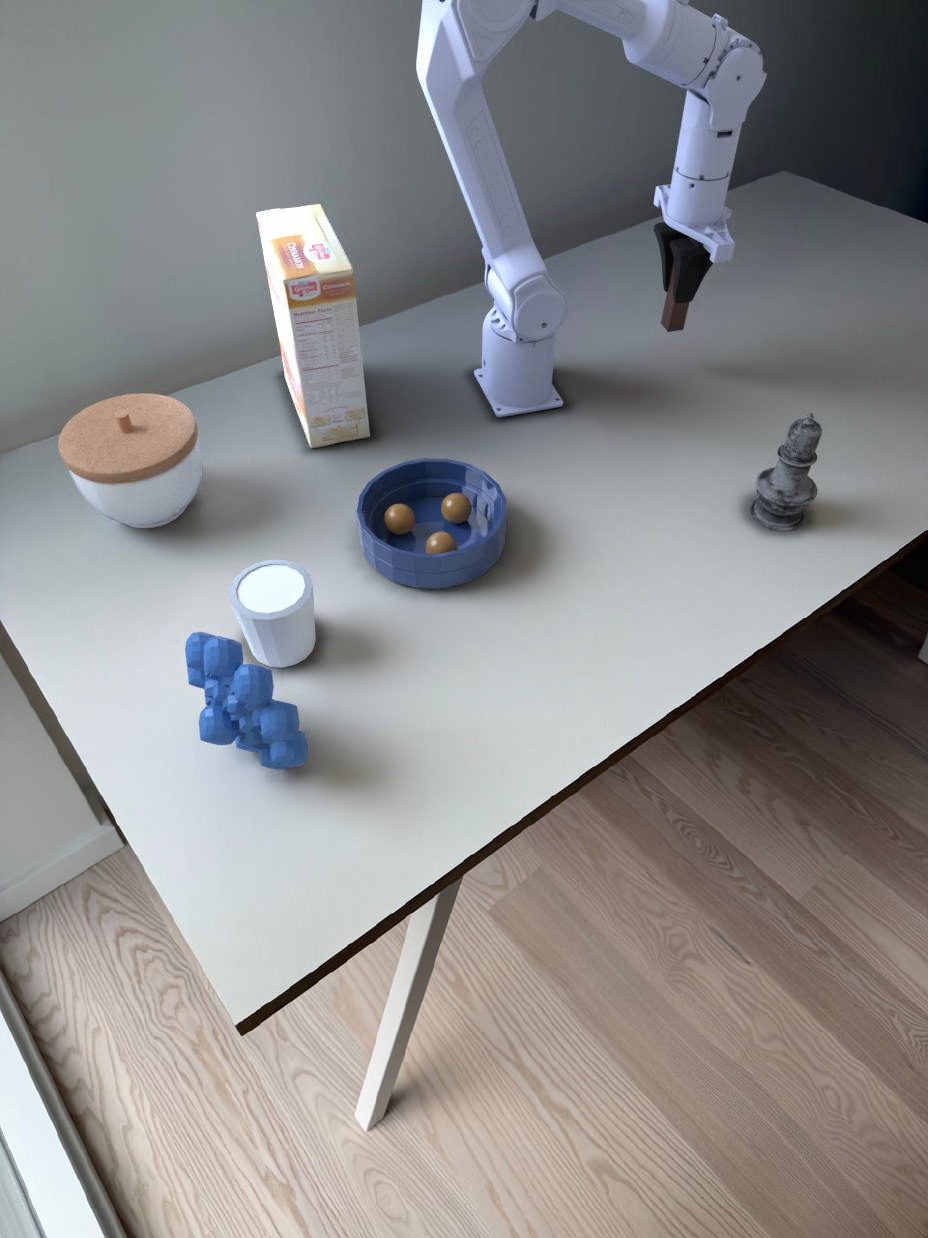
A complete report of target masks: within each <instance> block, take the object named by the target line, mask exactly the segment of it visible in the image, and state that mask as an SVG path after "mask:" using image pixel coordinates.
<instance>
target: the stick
mask: <svg viewBox="0 0 928 1238" xmlns="http://www.w3.org/2000/svg"><path fill="white" fill-rule="evenodd" d="M682 239H689V238H682ZM678 240H681V239H678ZM673 284H674V261H673V266H672V271H671V276H670V281H669V286H668V291H667V292H666V296H665V301H664V306H663V310H662V314H661V321H660V325H661V326H662V327H663V328H664V330H665V331H666V332H667V333H671V332H679V331H684V329H685V324H686V320H687V315H688V312H689V307H690V302H684V303H678V304H677V303H675V302H674V301H673Z"/></svg>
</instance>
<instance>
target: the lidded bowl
mask: <svg viewBox="0 0 928 1238" xmlns="http://www.w3.org/2000/svg"><path fill="white" fill-rule="evenodd" d="M57 448H58V453H59V455H60V458H61V459H62V461H63V464H64V465H65V467H66V468H67V470H68V472H69V474H70V476H71V479H72V481H73V483H74V484H75V486H76V488H77V489H78V491H79V493H80V494H81V496H83V498H84V499H85V501H87V503H88V504H89V505H90V506H91V507H92V508H93V509H94V510H95V511H97V512H98V513H100V514H101V515H103V516H105V517H107V518H108V519H110V520H111V521H115V522H117V523H121V524H123V525H125V526H127V527H132V528H135V529H155V528H158V527H162V526H165V525H167V524H169V523H171V522H174V521H175V520H177V519H178V518H179V517H180V516H182V515H183V513H184V512H185V511H186V509H187V507H188V505H190V503H191V502H192V501H193V499H194V498H195V496H196V495H197V492H198V490H199V488H200V486H201V481H202V477H203V468H204V467H203V465H204V464H203V451H202V446H201V441H200V437H199V428H198V424H197V420H196V417H195V415H194V413H193V411H192V410H191V409H190V408H189V407H188V406H187V405H186V404H184V403H182V402H181V401H180V400H177V399H176V398H173V397H171V396H166V395H163V394H156V393H147V392H142V393H127V394H122V395H118V396H113V397H109V398H106V399H103V400H101V401H98V402H95V403H94V404H91V405H89V406H87V407H86V408H84V409H82V410H81V411H79V412H78V413H76V414H75V415H74V416H73V417H71V418H70V419H69V420H68V422H67V423H66V424H65V425H64V427H63V428H62V430H61V432H60V434H59V437H58V441H57Z"/></svg>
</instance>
